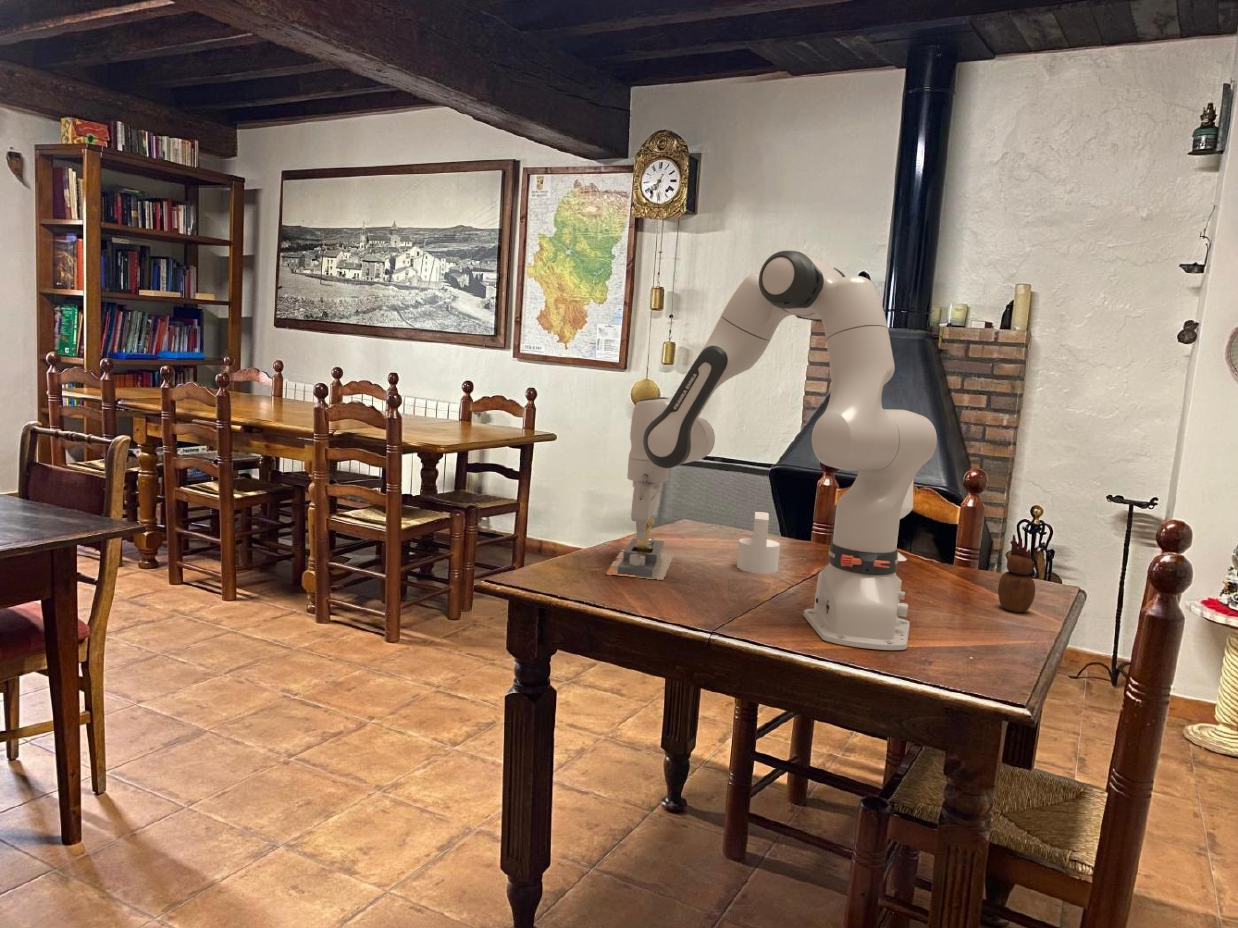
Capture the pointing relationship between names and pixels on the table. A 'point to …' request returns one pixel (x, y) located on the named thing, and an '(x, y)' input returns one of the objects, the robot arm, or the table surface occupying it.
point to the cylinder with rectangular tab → (758, 549)
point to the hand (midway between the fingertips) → (643, 535)
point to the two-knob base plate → (644, 560)
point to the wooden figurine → (1017, 580)
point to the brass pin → (644, 544)
